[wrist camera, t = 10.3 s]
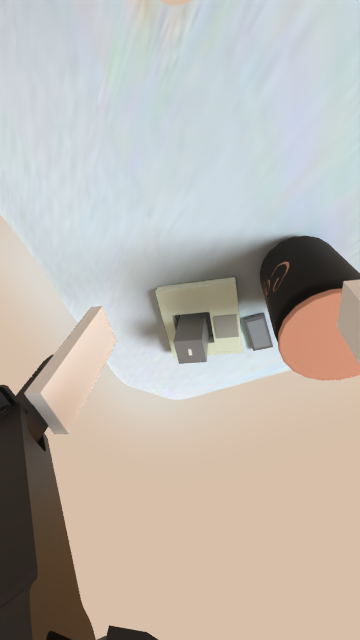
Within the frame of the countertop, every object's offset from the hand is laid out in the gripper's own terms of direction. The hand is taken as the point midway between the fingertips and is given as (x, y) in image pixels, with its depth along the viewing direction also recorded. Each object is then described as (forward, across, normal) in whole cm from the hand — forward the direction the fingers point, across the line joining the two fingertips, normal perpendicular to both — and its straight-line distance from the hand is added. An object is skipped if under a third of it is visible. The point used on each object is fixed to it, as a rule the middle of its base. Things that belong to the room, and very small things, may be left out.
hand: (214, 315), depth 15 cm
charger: (+27, -6, -19) cm, 33 cm away
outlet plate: (+27, -5, -18) cm, 32 cm away
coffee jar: (+27, +10, -10) cm, 31 cm away
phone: (+27, +4, -21) cm, 35 cm away
